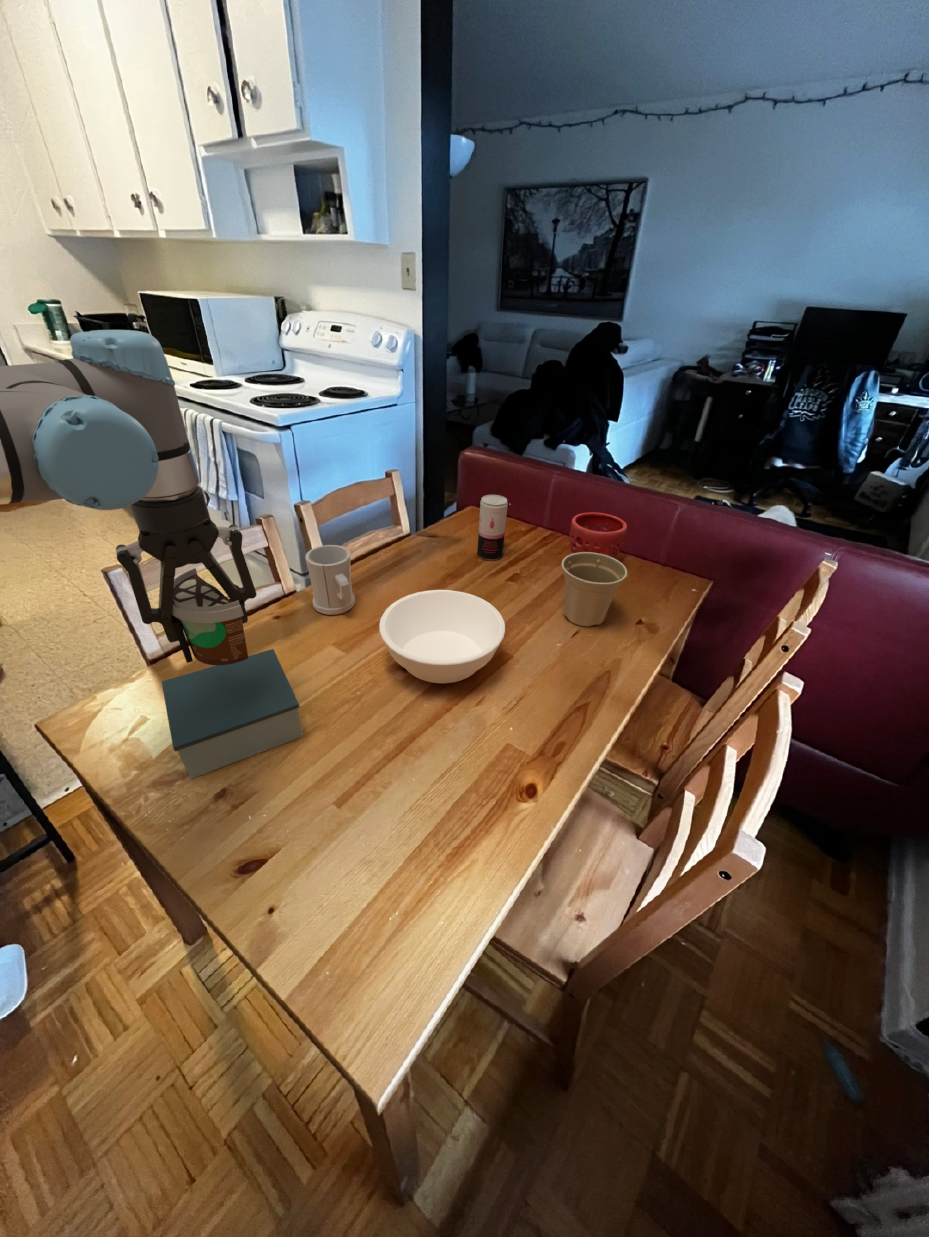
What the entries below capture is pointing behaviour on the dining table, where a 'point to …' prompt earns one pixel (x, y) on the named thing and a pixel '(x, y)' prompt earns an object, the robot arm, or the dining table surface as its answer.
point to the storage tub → (230, 712)
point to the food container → (209, 621)
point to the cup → (330, 579)
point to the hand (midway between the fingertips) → (215, 648)
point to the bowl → (442, 634)
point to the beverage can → (492, 526)
